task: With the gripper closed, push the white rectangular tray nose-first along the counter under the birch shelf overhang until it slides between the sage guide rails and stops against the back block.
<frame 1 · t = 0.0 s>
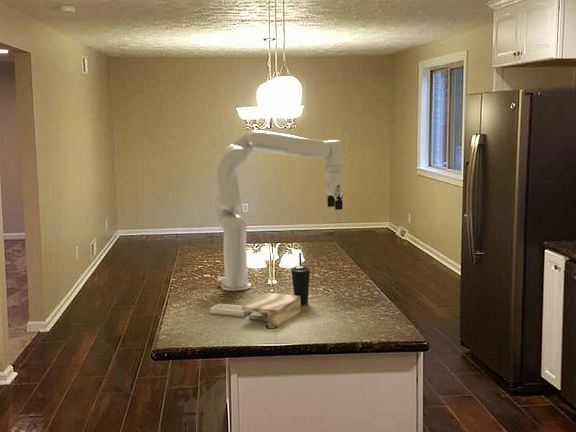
hand: (334, 208, 313), 31 cm above the counter, tool pointing down, fingers open, 9 cm apart
drinking cup: (301, 303, 279), on the counter
shelf: (267, 316, 263), on the counter
white rectangular tray: (231, 312, 269), on the counter
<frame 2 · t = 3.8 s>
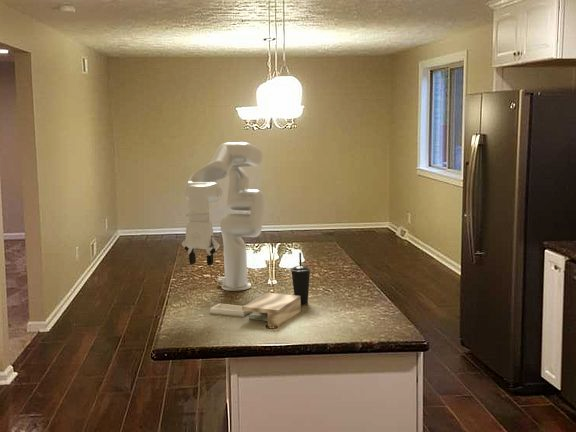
hand: (201, 264, 271), 18 cm above the counter, tool pointing down, fingers open, 6 cm apart
nothing on the counter moved.
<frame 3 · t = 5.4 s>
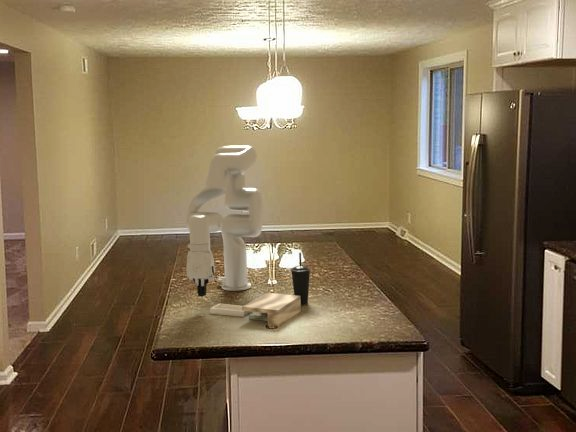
hand: (201, 295, 272), 6 cm above the counter, tool pointing down, fingers closed
nothing on the counter moved.
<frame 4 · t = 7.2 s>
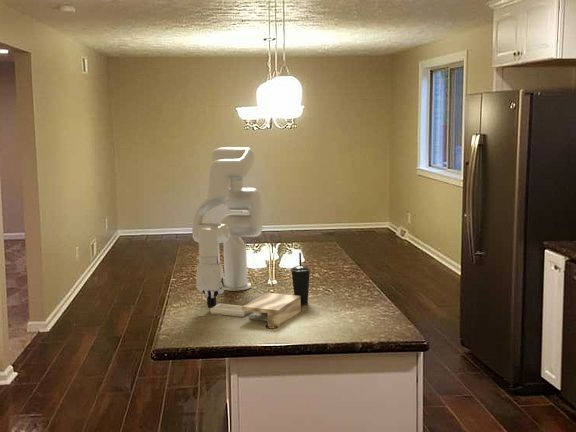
hand: (211, 307, 272), 1 cm above the counter, tool pointing down, fingers closed
white rectangular tray: (231, 312, 269), on the counter, touching gripper
everything else where it was.
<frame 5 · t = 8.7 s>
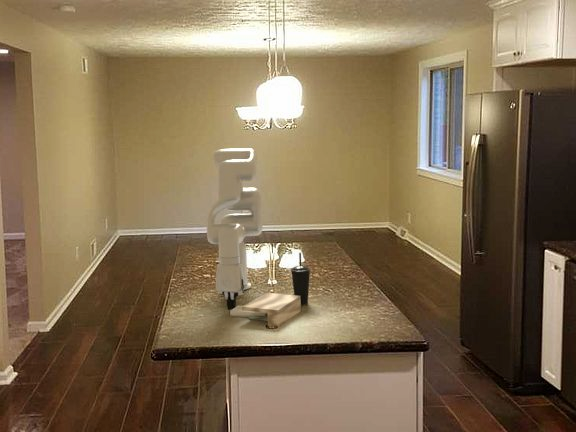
hand: (231, 308, 268), 2 cm above the counter, tool pointing down, fingers closed
white rectangular tray: (251, 314, 265), on the counter, touching gripper
everything else where it was.
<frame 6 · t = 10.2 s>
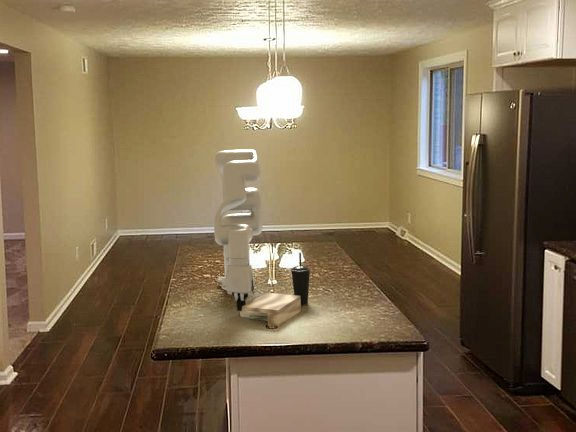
hand: (241, 309, 266), 2 cm above the counter, tool pointing down, fingers closed
white rectangular tray: (261, 315, 264), on the counter, touching gripper
everything else where it was.
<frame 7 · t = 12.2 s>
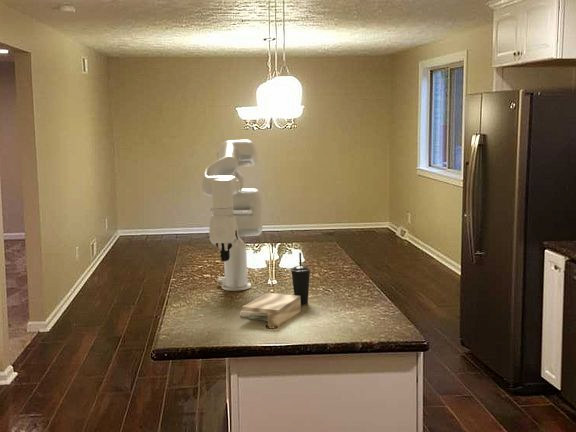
hand: (225, 260, 268), 19 cm above the counter, tool pointing down, fingers closed
white rectangular tray: (261, 315, 264), on the counter
everything else where it was.
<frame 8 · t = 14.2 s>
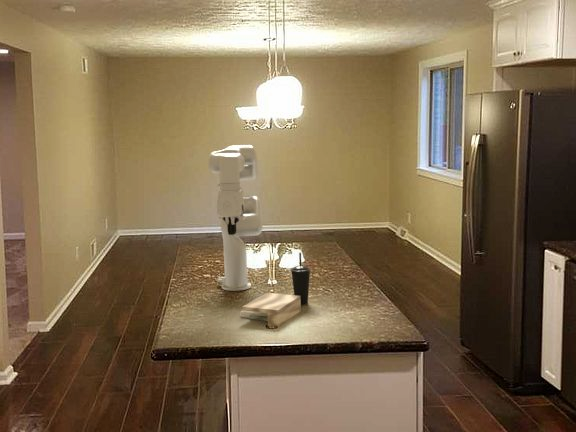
hand: (232, 234, 280), 27 cm above the counter, tool pointing down, fingers closed
nothing on the counter moved.
at the end: white rectangular tray 0.4 cm from the target spot, on the counter; white rectangular tray tilted 0°; white rectangular tray moved 12.6 cm from its start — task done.
